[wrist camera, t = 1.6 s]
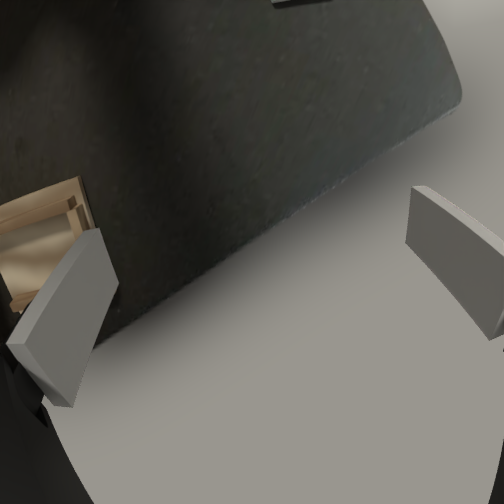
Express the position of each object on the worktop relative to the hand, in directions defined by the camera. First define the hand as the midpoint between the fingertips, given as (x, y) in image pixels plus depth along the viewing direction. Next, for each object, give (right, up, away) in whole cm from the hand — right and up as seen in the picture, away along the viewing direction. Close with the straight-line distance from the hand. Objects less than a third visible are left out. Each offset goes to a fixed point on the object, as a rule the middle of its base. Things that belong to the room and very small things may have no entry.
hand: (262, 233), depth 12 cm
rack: (-27, -1, +21) cm, 34 cm away
